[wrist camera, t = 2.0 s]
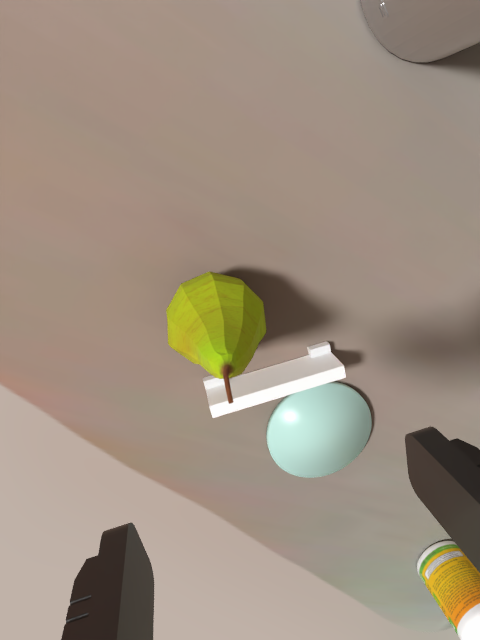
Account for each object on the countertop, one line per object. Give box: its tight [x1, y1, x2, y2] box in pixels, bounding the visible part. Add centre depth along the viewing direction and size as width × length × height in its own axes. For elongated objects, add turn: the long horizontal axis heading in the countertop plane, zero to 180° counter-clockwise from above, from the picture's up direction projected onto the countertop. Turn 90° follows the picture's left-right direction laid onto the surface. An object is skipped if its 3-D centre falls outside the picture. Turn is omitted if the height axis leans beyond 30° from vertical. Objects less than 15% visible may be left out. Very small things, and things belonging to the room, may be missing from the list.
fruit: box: [166, 272, 266, 404], centre depth 23 cm, size 6×6×12 cm
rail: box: [203, 341, 346, 418], centre depth 30 cm, size 10×2×3 cm, turn 104°
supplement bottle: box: [417, 541, 480, 640], centre depth 38 cm, size 5×5×10 cm
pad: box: [266, 381, 372, 478], centre depth 34 cm, size 9×9×1 cm
